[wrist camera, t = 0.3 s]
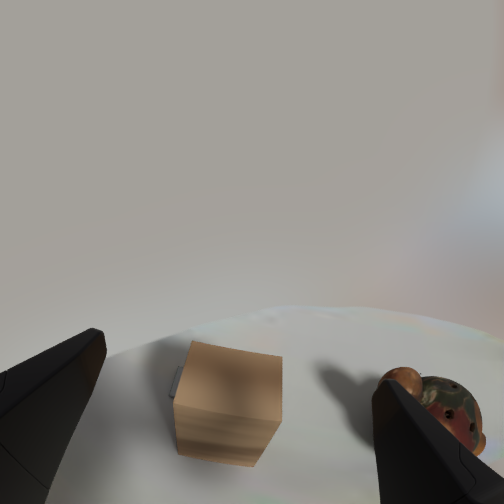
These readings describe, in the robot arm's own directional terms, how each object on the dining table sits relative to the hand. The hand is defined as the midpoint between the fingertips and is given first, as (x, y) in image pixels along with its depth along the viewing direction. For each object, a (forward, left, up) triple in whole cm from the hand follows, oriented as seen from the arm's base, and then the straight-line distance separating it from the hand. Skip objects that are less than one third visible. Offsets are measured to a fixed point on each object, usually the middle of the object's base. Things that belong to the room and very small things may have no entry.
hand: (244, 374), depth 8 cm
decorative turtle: (+5, -19, -17) cm, 26 cm away
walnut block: (+5, 0, -16) cm, 17 cm away
